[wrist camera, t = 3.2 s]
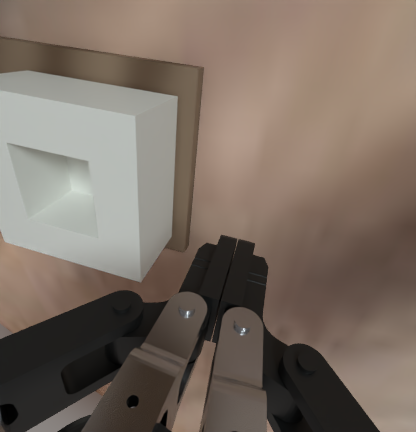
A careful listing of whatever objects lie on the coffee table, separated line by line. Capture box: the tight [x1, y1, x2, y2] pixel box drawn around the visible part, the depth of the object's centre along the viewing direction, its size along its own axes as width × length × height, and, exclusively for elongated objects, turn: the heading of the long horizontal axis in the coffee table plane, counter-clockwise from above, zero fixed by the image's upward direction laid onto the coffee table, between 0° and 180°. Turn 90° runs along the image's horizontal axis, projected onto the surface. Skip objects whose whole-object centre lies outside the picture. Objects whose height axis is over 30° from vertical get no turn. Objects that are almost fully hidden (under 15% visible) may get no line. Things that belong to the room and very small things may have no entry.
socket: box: [0, 70, 178, 283], centre depth 18 cm, size 10×10×5 cm
